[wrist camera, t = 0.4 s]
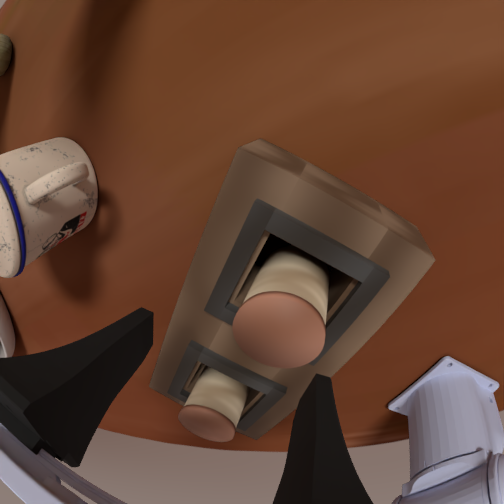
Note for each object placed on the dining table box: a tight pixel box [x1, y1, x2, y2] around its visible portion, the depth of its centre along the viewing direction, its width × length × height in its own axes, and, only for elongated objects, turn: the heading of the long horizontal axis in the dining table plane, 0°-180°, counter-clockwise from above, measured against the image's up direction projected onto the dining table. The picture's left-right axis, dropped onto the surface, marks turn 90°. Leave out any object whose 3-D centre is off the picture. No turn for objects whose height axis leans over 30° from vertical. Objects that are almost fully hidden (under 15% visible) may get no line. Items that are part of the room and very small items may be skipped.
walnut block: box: [149, 139, 435, 440], centre depth 21 cm, size 11×22×5 cm, turn 156°
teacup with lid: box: [0, 137, 98, 278], centre depth 17 cm, size 12×9×12 cm
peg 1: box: [178, 365, 251, 442], centre depth 21 cm, size 4×4×5 cm
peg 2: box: [232, 246, 330, 368], centre depth 15 cm, size 4×4×5 cm
